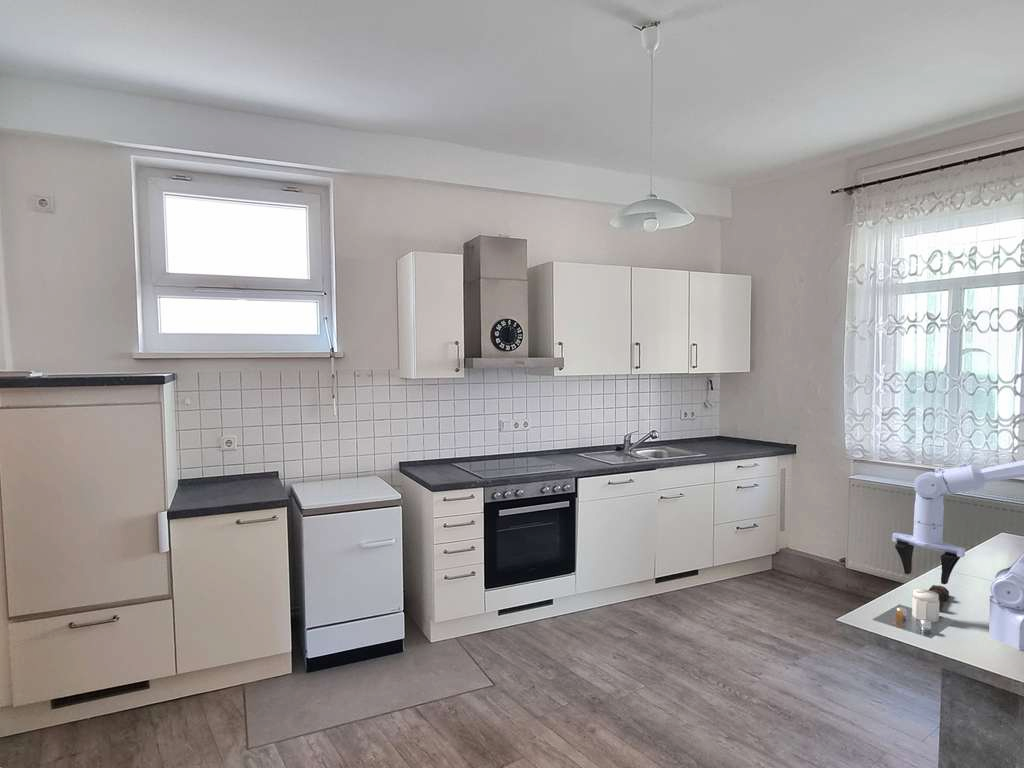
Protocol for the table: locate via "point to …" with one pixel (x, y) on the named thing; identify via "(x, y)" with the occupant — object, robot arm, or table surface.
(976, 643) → the table surface
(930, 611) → the knob
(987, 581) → the table surface
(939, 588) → the bolt
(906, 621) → the plate
